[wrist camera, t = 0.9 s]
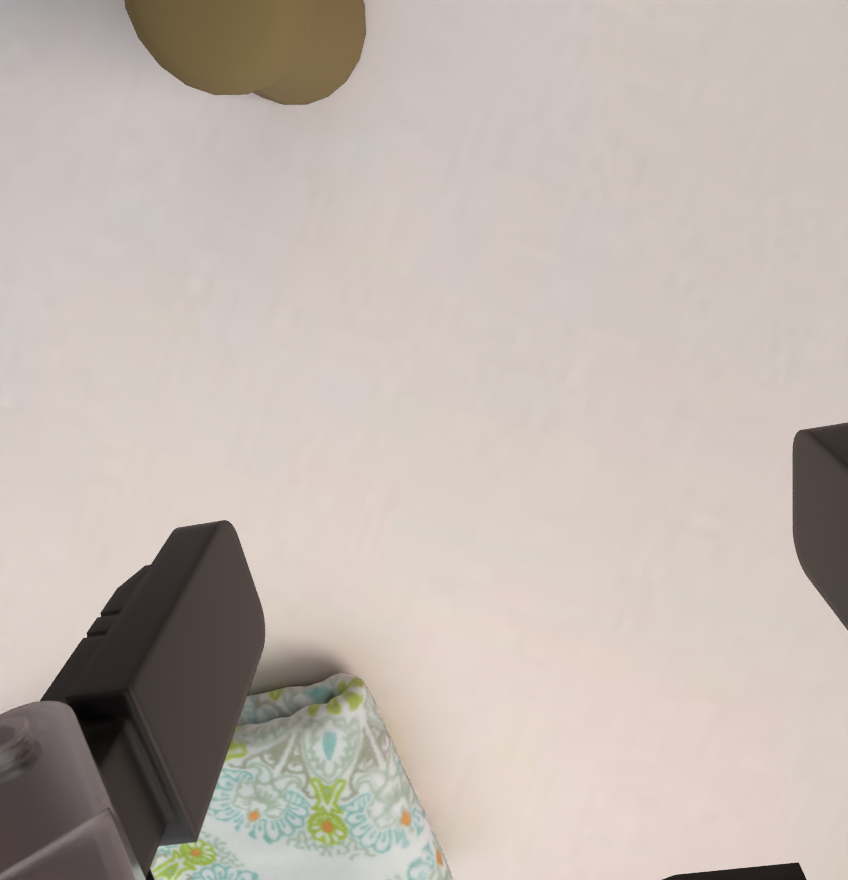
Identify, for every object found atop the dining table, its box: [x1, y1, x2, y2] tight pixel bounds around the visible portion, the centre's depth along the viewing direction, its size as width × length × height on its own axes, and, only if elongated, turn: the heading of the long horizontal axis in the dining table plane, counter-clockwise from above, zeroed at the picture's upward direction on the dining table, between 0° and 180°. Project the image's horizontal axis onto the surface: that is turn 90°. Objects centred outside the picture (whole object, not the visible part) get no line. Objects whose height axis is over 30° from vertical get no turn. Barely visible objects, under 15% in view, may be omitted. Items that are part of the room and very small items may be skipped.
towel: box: [150, 673, 453, 880], centre depth 46 cm, size 18×21×5 cm
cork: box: [124, 0, 366, 105], centre depth 25 cm, size 6×6×11 cm
